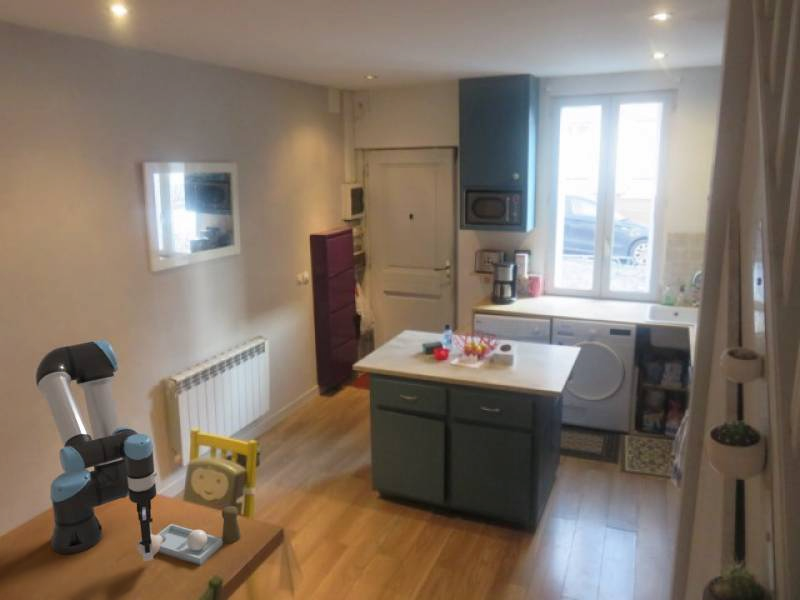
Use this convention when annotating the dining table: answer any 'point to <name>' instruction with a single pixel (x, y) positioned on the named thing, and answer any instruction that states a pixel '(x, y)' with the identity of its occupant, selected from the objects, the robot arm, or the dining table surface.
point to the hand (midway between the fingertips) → (148, 551)
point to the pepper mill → (230, 525)
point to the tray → (179, 548)
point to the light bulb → (153, 543)
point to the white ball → (197, 540)
